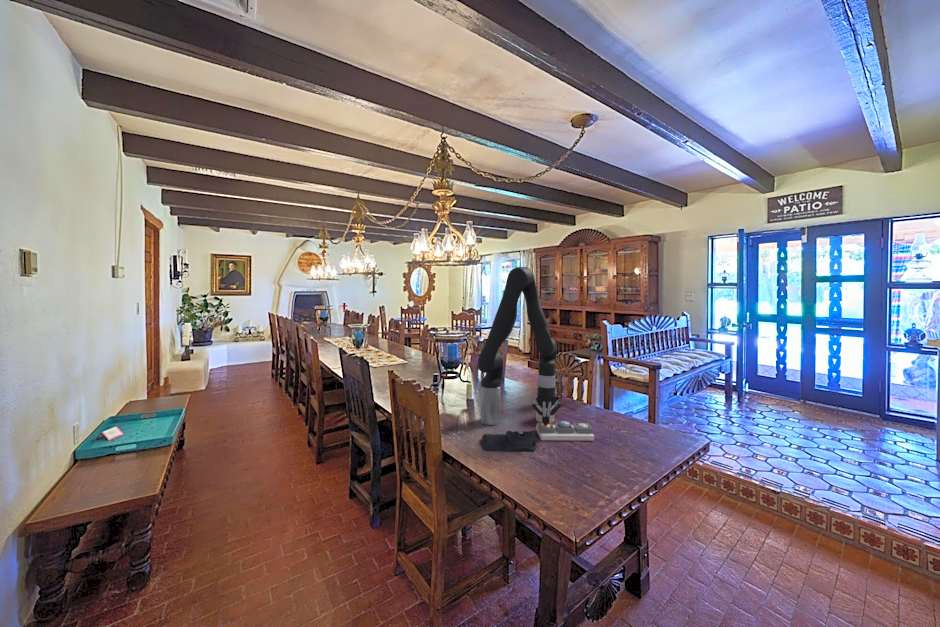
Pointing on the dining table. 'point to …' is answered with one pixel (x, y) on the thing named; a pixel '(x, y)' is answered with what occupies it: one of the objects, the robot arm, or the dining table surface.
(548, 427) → the terracotta button
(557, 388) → the french press
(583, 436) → the button panel
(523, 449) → the dark slate chunk
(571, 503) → the dining table surface
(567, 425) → the slate button
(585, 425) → the sage button
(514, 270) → the robot arm
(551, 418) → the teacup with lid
